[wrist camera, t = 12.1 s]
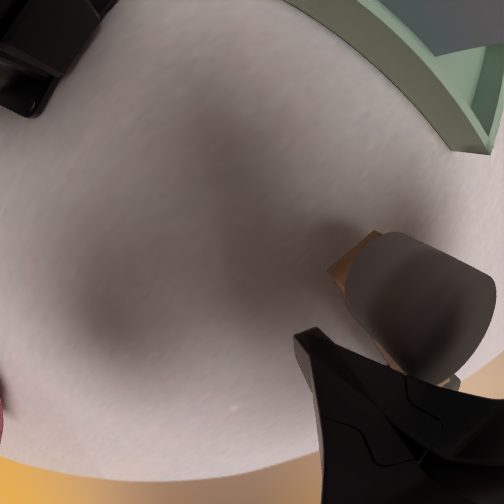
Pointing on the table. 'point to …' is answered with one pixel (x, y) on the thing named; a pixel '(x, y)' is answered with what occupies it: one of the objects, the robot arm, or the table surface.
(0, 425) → the pencil case
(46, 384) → the table surface
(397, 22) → the tray
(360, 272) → the crank lever
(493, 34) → the stop block
